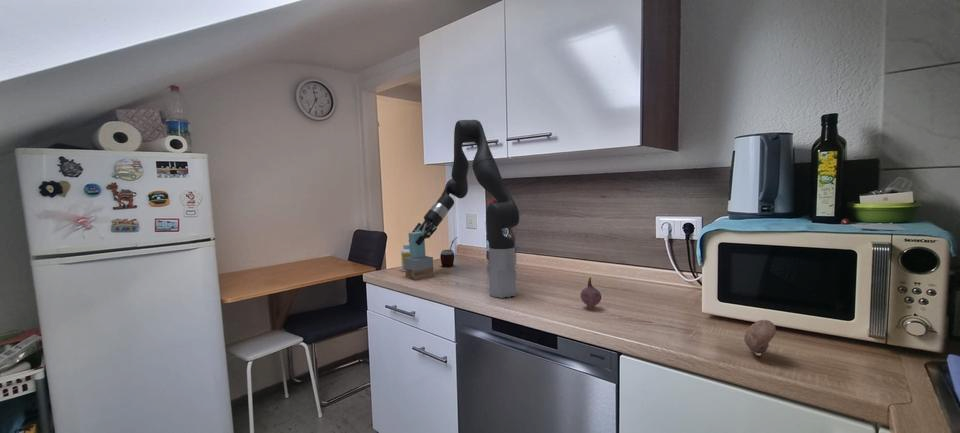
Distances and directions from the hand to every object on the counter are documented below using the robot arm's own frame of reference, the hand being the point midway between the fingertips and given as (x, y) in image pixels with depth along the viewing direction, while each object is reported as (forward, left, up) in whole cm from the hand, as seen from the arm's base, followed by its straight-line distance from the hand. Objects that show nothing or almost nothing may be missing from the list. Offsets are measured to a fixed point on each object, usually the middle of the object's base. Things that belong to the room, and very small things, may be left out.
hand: (413, 243), depth 158 cm
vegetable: (-67, -41, -15) cm, 80 cm away
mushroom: (-109, -52, -15) cm, 121 cm away
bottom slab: (0, -2, -16) cm, 16 cm away
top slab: (0, -2, -11) cm, 11 cm away
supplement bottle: (+15, -1, -15) cm, 22 cm away
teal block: (0, -2, -6) cm, 7 cm away
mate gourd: (+15, -21, -15) cm, 30 cm away
